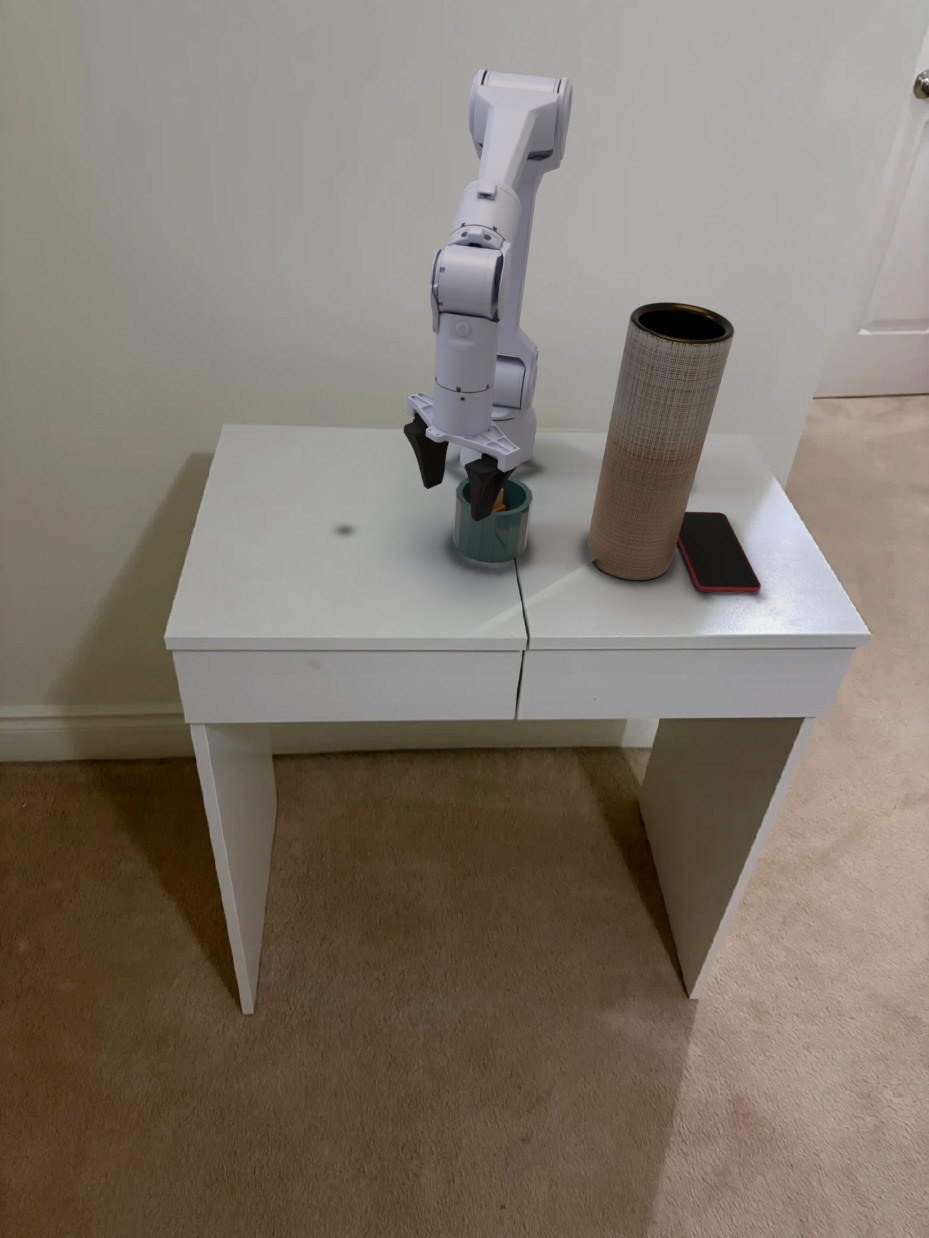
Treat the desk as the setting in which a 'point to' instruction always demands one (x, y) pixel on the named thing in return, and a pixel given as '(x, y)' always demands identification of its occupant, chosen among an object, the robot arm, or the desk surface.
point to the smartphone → (715, 554)
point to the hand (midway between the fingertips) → (456, 500)
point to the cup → (493, 524)
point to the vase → (656, 435)
